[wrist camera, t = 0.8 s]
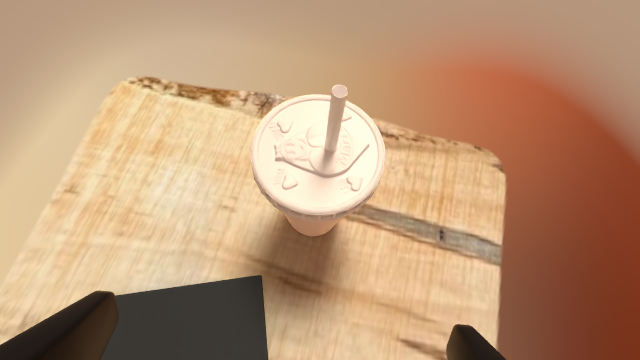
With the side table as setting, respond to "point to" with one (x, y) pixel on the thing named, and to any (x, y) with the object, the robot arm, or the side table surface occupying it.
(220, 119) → the side table surface
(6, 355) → the robot arm
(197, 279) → the side table surface
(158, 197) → the side table surface
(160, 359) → the coaster
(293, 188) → the smoothie
